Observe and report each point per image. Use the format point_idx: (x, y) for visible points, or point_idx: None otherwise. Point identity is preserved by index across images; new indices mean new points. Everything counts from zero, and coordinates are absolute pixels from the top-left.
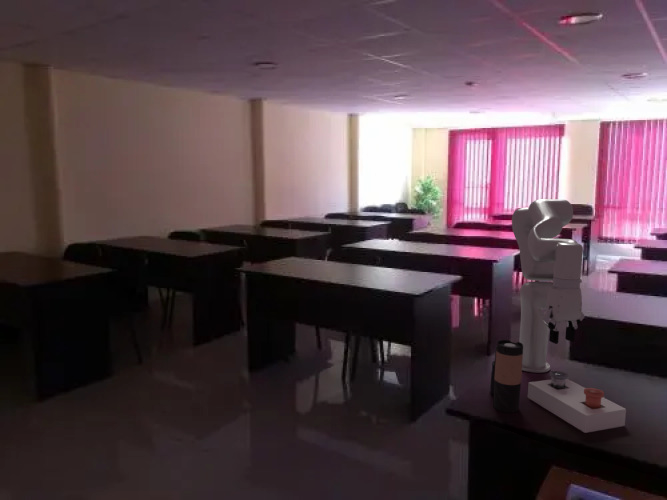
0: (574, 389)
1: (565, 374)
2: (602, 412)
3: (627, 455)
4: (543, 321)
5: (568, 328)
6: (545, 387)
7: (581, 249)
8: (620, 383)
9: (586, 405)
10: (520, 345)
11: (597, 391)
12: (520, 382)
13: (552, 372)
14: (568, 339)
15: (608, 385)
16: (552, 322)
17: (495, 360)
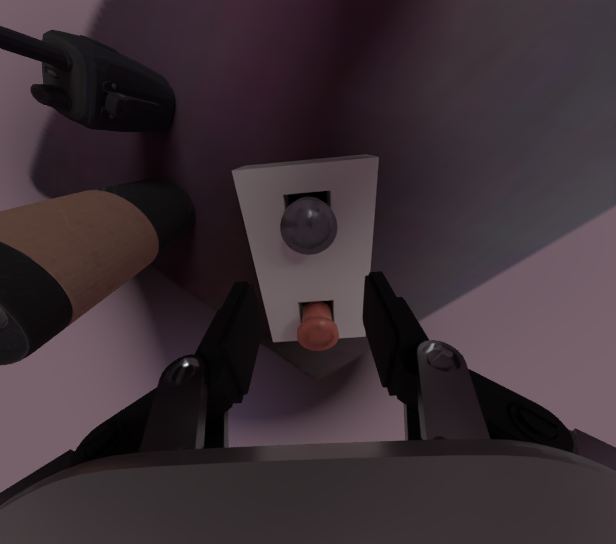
0: (337, 245)
1: (325, 239)
2: None
3: (294, 364)
4: (18, 484)
5: (387, 356)
6: (265, 217)
7: None
8: (591, 128)
9: (302, 313)
10: (27, 311)
11: (325, 338)
12: (151, 262)
13: (293, 214)
14: (365, 300)
15: (539, 135)
16: (179, 435)
17: (33, 95)
